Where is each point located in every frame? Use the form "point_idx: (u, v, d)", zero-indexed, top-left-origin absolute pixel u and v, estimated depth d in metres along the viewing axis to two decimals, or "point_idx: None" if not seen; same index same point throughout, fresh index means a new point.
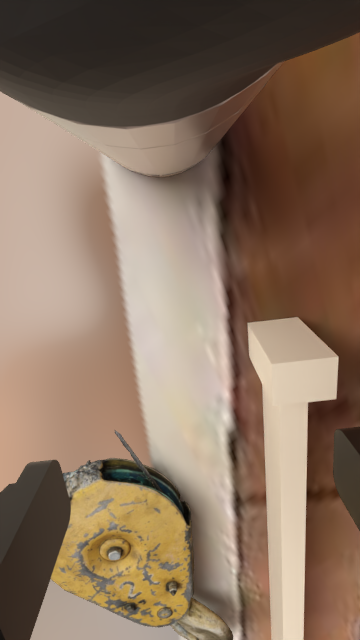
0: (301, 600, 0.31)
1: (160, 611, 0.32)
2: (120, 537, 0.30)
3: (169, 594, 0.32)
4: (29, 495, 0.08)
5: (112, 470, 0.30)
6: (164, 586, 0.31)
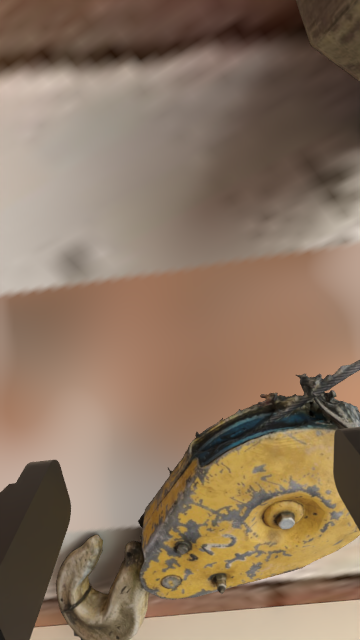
0: None
1: (176, 578, 0.23)
2: (303, 517, 0.22)
3: (204, 579, 0.23)
4: (29, 495, 0.08)
5: None
6: (219, 572, 0.23)
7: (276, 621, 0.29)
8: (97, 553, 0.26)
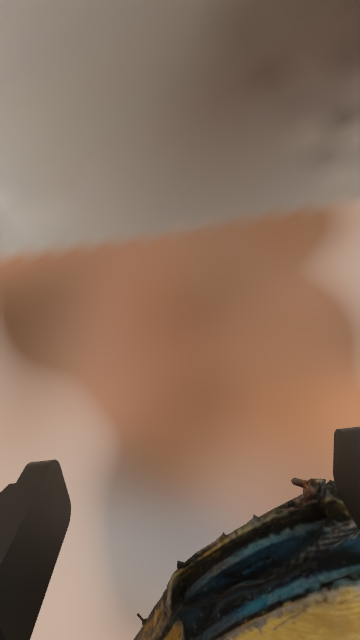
0: None
1: None
2: None
3: None
4: (29, 495, 0.08)
5: None
6: None
7: None
8: None
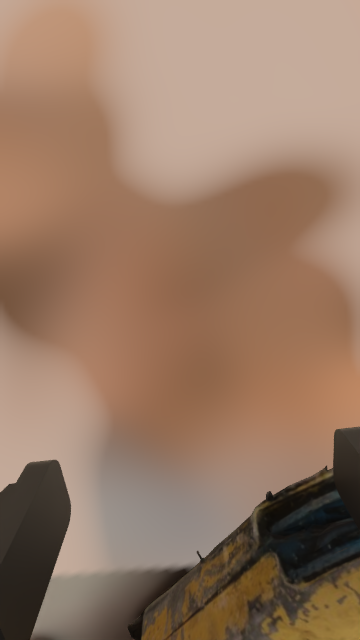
0: None
1: None
2: None
3: None
4: (29, 495, 0.08)
5: None
6: None
7: None
8: None
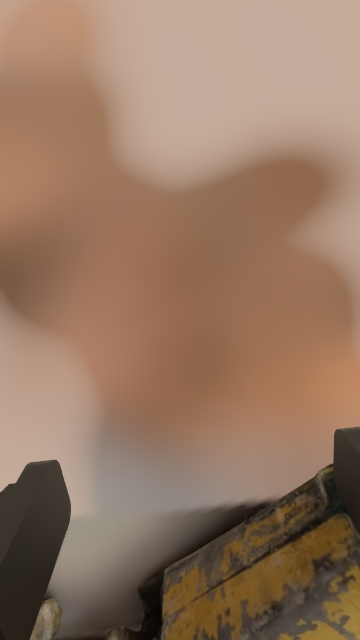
0: None
1: None
2: None
3: None
4: (29, 495, 0.08)
5: None
6: None
7: None
8: (47, 639, 0.13)
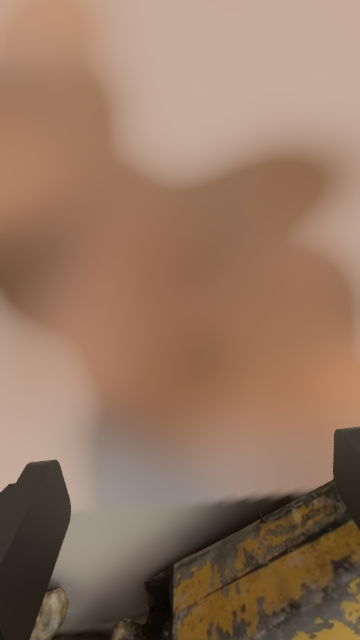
0: None
1: None
2: None
3: None
4: (29, 495, 0.08)
5: None
6: None
7: None
8: (54, 628, 0.13)
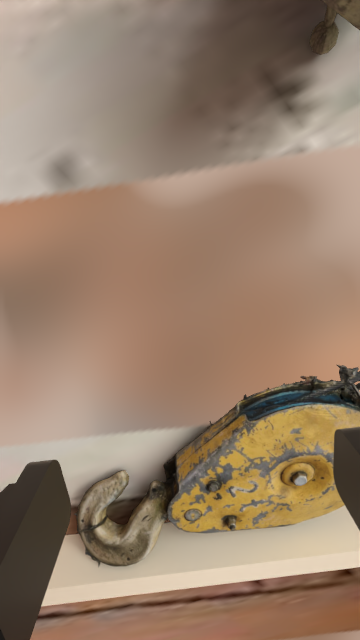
0: (189, 586, 0.29)
1: (198, 512, 0.27)
2: (311, 479, 0.28)
3: (218, 518, 0.28)
4: (29, 495, 0.08)
5: None
6: (232, 514, 0.28)
7: None
8: (124, 485, 0.30)
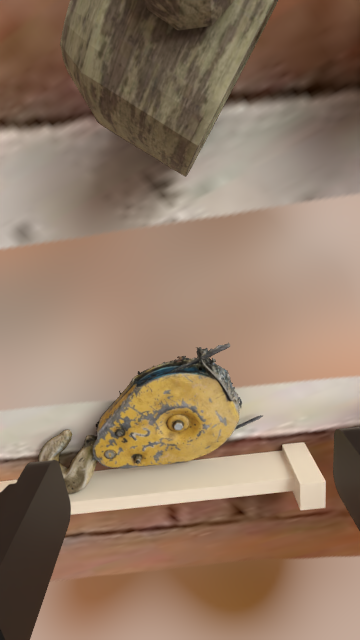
0: (112, 508, 0.42)
1: (113, 452, 0.40)
2: (189, 426, 0.40)
3: (129, 456, 0.41)
4: (29, 495, 0.08)
5: None
6: (138, 453, 0.41)
7: (164, 469, 0.45)
8: (67, 439, 0.43)
